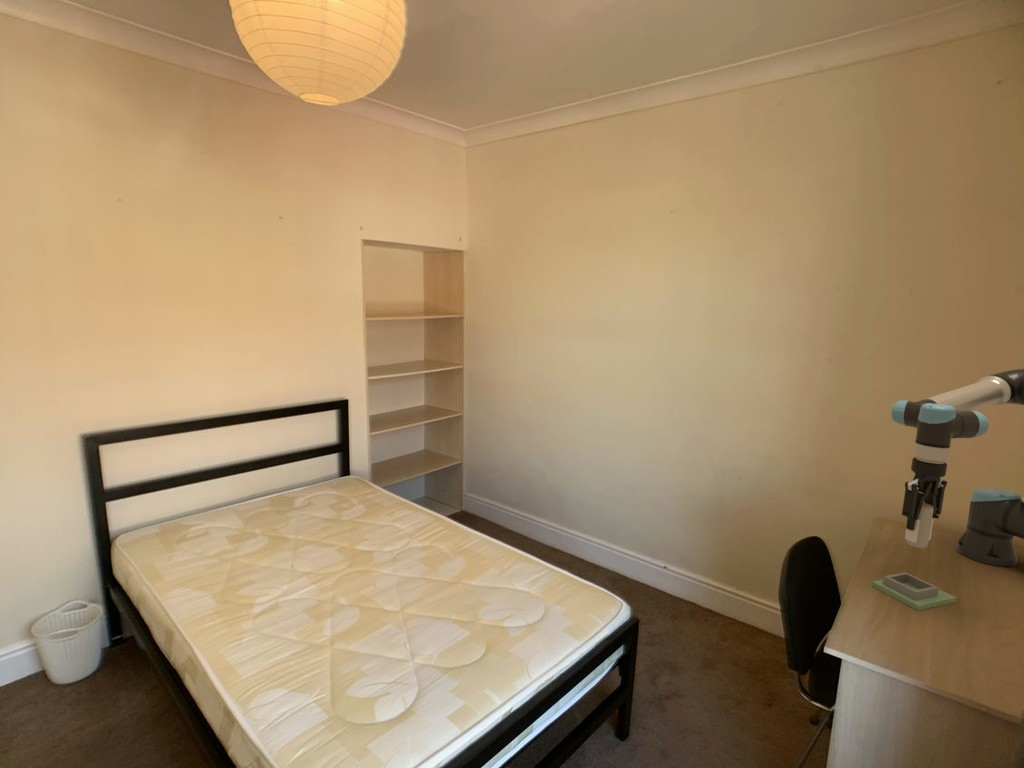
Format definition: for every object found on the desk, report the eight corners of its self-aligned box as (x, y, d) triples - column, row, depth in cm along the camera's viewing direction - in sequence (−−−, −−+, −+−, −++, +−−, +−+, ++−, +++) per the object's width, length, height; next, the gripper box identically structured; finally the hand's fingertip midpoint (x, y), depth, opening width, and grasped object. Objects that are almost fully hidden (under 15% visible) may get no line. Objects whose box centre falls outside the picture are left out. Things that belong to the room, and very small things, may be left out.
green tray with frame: (907, 579, 156) (909, 566, 156) (955, 602, 144) (957, 589, 144) (871, 586, 152) (873, 573, 151) (918, 610, 140) (920, 597, 139)
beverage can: (930, 550, 142) (937, 509, 140) (909, 547, 144) (916, 506, 142) (923, 543, 147) (929, 503, 145) (903, 540, 148) (909, 500, 147)
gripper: (937, 454, 148) (925, 530, 151) (893, 457, 142) (881, 537, 146) (967, 461, 141) (953, 541, 144) (921, 465, 135) (908, 549, 139)
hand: (917, 539), depth 145 cm, fingers closed on beverage can, 5 cm apart
